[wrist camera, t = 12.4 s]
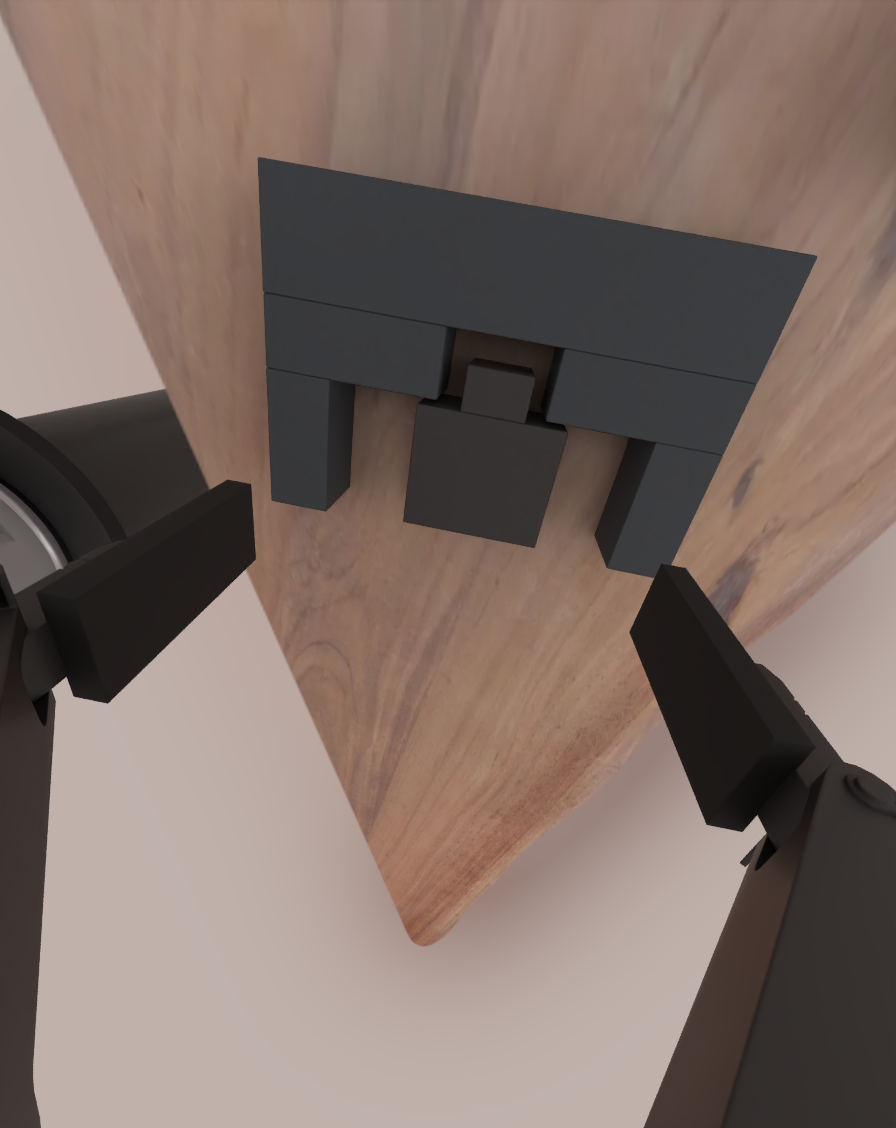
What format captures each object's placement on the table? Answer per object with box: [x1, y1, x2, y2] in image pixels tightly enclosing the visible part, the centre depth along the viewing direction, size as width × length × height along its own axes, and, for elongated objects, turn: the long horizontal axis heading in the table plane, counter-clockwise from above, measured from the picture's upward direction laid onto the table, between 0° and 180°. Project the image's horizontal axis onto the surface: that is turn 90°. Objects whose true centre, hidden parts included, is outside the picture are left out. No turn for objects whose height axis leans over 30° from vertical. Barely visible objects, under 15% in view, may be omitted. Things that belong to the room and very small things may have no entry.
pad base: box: [258, 157, 817, 578], centre depth 22 cm, size 21×14×4 cm, turn 81°
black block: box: [403, 358, 568, 548], centre depth 23 cm, size 7×8×4 cm
